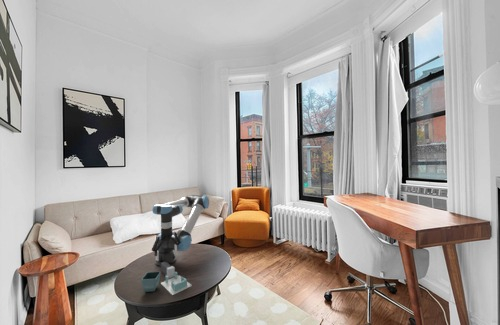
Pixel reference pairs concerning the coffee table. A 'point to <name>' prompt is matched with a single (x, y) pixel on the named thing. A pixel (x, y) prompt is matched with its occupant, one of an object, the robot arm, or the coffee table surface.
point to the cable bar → (167, 269)
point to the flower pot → (150, 281)
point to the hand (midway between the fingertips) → (166, 257)
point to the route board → (175, 284)
